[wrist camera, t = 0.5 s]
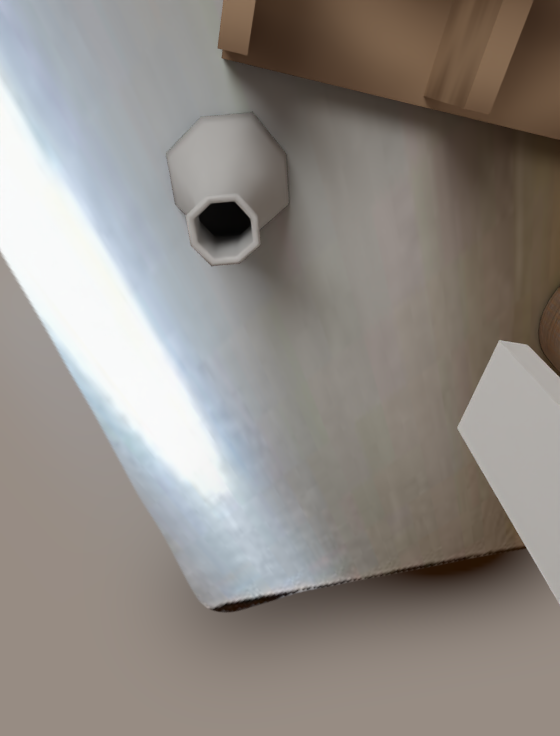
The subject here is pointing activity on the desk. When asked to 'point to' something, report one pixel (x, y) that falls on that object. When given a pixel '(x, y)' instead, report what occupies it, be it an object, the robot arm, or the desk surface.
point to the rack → (413, 52)
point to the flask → (228, 184)
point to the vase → (551, 330)
